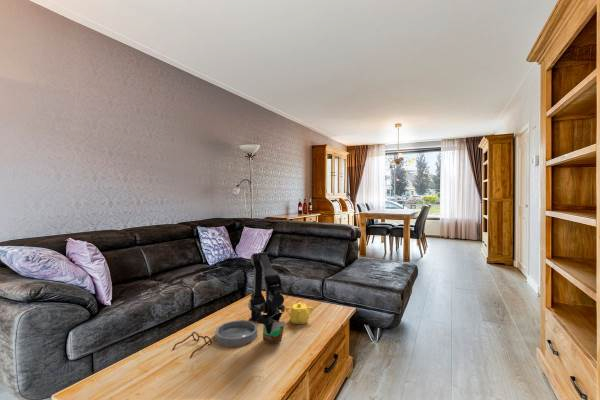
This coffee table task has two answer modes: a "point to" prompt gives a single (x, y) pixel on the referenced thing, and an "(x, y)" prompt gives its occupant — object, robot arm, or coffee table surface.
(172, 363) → the coffee table surface
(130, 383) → the coffee table surface
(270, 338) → the food container
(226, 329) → the bowl
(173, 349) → the glasses
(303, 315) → the teapot
